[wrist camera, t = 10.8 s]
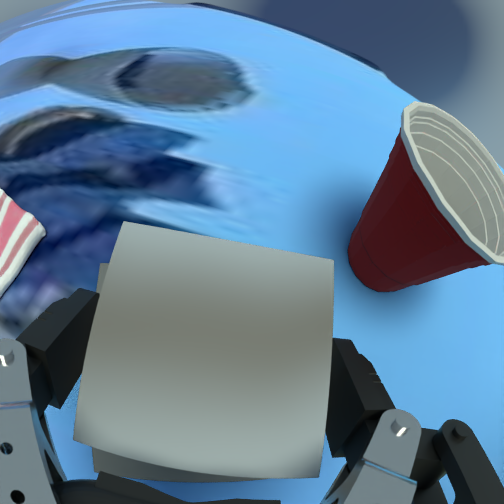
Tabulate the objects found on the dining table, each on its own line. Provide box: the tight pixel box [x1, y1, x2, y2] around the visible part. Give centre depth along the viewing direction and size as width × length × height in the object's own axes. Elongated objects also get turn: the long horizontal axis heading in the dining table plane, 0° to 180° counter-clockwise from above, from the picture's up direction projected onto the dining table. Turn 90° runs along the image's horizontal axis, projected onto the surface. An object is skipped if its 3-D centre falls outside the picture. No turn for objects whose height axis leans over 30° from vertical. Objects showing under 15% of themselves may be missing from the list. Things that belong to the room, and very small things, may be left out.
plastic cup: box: [348, 101, 504, 292], centre depth 18 cm, size 11×11×12 cm
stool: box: [73, 221, 334, 478], centre depth 11 cm, size 6×6×12 cm
